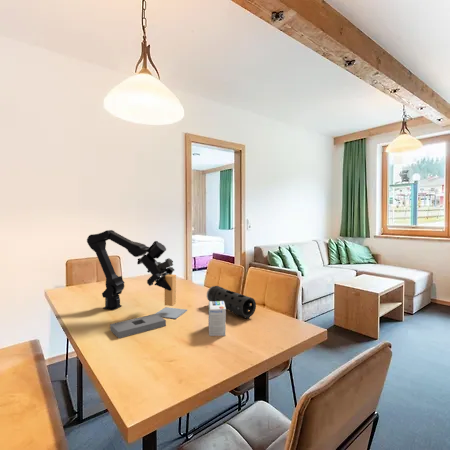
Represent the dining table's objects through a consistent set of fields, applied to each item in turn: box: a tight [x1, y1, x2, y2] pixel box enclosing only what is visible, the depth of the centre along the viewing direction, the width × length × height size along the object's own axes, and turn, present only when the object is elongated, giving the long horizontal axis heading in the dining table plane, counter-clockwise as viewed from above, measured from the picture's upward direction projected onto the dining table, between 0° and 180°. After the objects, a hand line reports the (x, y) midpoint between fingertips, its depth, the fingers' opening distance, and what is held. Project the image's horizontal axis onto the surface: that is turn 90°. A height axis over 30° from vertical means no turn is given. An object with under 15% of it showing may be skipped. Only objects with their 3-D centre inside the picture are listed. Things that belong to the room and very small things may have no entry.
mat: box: [154, 306, 188, 320], centre depth 138 cm, size 12×12×1 cm
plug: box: [164, 274, 177, 307], centre depth 138 cm, size 4×4×14 cm
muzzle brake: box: [206, 285, 257, 320], centre depth 141 cm, size 10×28×10 cm, turn 39°
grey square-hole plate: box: [109, 313, 167, 339], centre depth 120 cm, size 10×20×2 cm, turn 129°
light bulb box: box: [208, 300, 227, 337], centre depth 118 cm, size 11×7×11 cm, turn 5°
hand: (172, 288), depth 137 cm, fingers closed on plug, 4 cm apart
